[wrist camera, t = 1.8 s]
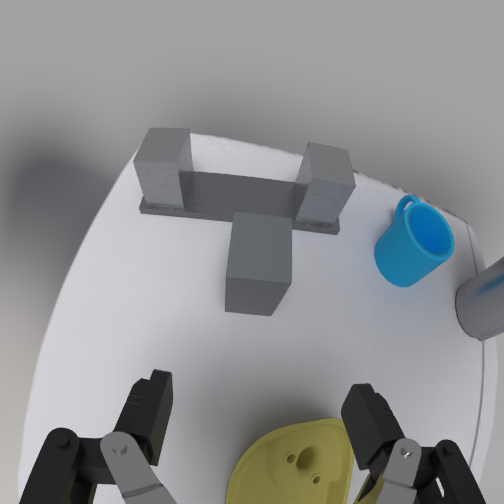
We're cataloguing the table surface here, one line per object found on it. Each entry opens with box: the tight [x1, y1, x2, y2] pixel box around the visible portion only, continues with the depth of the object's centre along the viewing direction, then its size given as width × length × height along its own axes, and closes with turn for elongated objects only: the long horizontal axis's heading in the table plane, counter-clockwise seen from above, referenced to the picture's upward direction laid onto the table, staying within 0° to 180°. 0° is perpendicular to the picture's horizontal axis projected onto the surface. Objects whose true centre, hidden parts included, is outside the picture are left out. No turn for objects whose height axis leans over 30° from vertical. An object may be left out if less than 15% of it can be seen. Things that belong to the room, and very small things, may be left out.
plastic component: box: [225, 418, 354, 504], centre depth 19 cm, size 20×7×10 cm
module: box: [225, 212, 292, 316], centre depth 27 cm, size 5×6×10 cm
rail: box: [133, 128, 356, 235], centre depth 33 cm, size 26×7×9 cm, turn 86°
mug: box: [374, 195, 454, 287], centre depth 32 cm, size 12×8×8 cm
